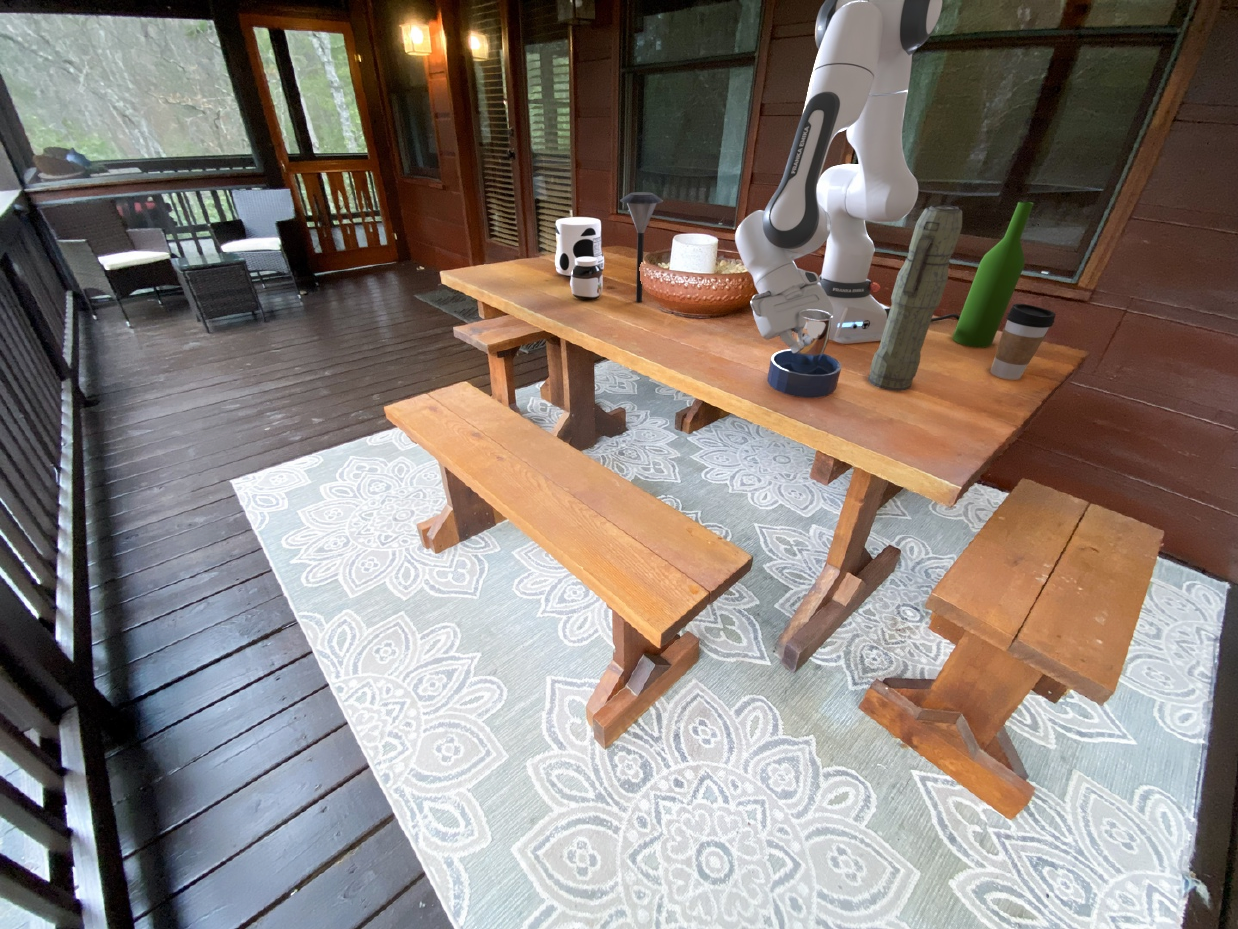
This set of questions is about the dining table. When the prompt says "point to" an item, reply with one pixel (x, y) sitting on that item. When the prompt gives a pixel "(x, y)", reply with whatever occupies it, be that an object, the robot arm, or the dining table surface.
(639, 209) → the solar garden light
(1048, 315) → the coffee cup
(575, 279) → the spread jar
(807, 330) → the beer glass
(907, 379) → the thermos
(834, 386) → the bowl
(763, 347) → the dining table surface
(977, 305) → the wine bottle
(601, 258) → the milk container
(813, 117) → the robot arm
